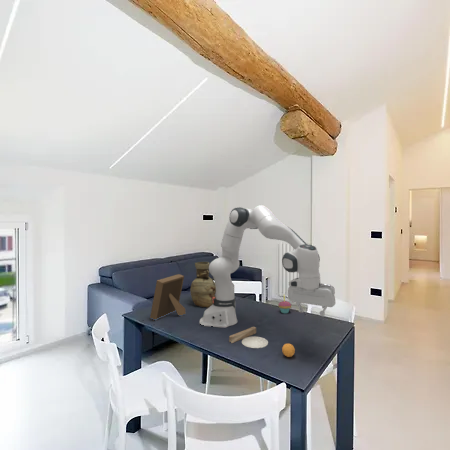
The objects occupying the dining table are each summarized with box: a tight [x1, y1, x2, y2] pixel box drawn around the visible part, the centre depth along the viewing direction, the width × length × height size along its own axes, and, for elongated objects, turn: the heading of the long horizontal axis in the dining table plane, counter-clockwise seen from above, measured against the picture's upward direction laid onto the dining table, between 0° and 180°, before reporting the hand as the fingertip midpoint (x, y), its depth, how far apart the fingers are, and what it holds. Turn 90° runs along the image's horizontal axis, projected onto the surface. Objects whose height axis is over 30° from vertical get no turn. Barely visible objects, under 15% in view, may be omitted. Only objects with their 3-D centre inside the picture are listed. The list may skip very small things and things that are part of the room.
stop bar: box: [228, 326, 257, 344], centre depth 149 cm, size 2×18×3 cm, turn 133°
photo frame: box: [149, 273, 186, 319], centre depth 182 cm, size 15×22×25 cm
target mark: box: [241, 336, 269, 349], centre depth 143 cm, size 13×13×1 cm
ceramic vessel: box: [189, 261, 216, 309], centre depth 207 cm, size 19×21×30 cm
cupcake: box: [277, 293, 292, 314], centre depth 188 cm, size 9×8×12 cm
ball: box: [281, 343, 296, 358], centre depth 128 cm, size 6×6×6 cm
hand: (311, 313), depth 125 cm, fingers open, 8 cm apart
